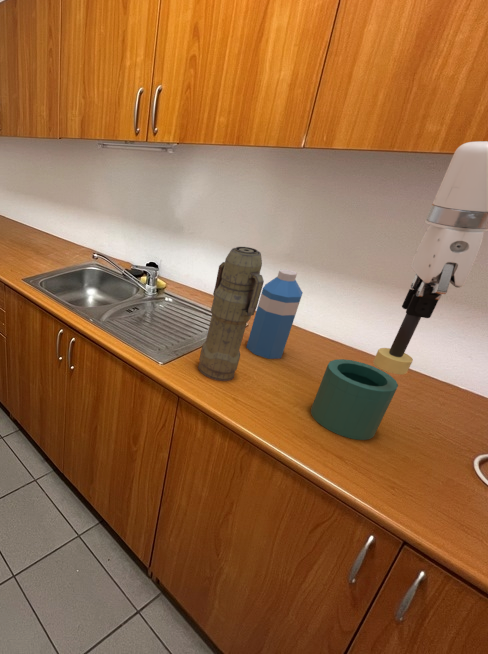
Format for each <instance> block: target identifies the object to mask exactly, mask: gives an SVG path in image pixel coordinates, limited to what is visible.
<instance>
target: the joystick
mask: <svg viewBox="0 0 488 654" xmlns="http://www.w3.org/2000/svg"><path fill="white" fill-rule="evenodd" d="M428 287H429V286H427V288H428ZM419 288H420V287H419ZM419 288H418V289H417V291H416V294H415V295H417V292H418V290H419ZM421 319H422V317H417V316H412V315H408V314H407V313H406V312H405V316H404V318H403V320H402V322H401V324H400V326H399V329H398V331H397V333H396V336H395V337H394V339H393V342H392V345H391V346H390V348H389V347H381V348H379V349H377V352H376V354H375V356H374V359H373V361H372V363H373V365H374V367H375V368H378V369H380V370H382V371H384V372H385V373H389V374H394V375H398V376H399V375H400V376H402V375H406V374H407V373H408V371H409V369H410V367H411V365H412V363H413V362H414V360H413V357H412V356H411V355H409V354H408V353H406V350H407V348H408V346H409V344H410V342H411V340H412V337H413V336H414V333H415V331H416V329H417V327H418V325H419V323H420V321H421Z"/></svg>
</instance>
